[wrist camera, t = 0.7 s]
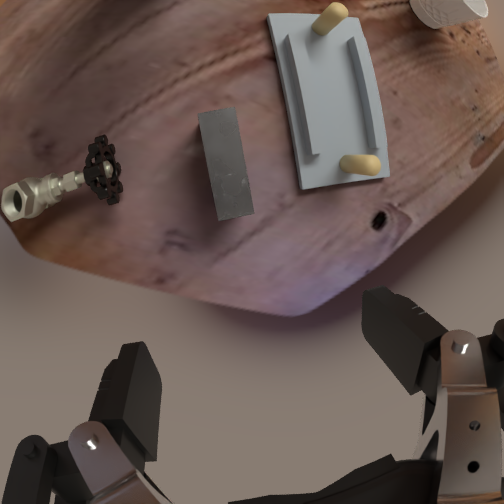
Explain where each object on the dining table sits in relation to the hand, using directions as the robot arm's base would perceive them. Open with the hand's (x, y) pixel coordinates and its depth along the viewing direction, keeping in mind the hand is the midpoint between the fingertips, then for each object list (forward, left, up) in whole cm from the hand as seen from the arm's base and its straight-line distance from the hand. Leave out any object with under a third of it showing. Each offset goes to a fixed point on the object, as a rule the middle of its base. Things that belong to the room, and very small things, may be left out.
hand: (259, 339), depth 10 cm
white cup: (-27, +34, -21) cm, 48 cm away
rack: (-12, +14, -21) cm, 28 cm away
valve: (-8, -15, -21) cm, 27 cm away
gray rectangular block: (-6, +1, -21) cm, 22 cm away
